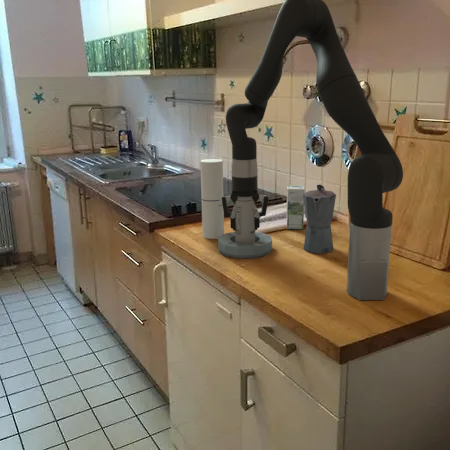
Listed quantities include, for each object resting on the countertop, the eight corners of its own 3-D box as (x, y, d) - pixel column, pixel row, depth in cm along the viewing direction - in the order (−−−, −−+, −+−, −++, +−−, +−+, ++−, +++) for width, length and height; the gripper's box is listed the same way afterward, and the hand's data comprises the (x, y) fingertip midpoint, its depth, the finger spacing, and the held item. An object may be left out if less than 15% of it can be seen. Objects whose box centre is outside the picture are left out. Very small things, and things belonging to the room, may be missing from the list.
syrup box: (302, 225, 176) (303, 184, 172) (303, 230, 170) (304, 188, 166) (286, 225, 177) (287, 184, 173) (286, 229, 171) (287, 188, 167)
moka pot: (299, 256, 145) (300, 188, 140) (304, 240, 160) (305, 178, 154) (332, 258, 143) (335, 189, 137) (334, 241, 157) (337, 179, 152)
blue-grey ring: (273, 258, 144) (273, 246, 143) (217, 259, 144) (217, 247, 143) (269, 241, 159) (269, 230, 158) (218, 241, 159) (218, 231, 158)
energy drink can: (255, 246, 148) (255, 197, 144) (235, 247, 148) (234, 197, 144) (254, 240, 154) (254, 193, 150) (234, 241, 154) (234, 193, 150)
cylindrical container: (199, 234, 168) (196, 160, 161) (218, 231, 171) (217, 158, 164) (207, 240, 162) (205, 163, 155) (227, 236, 164) (226, 161, 157)
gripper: (219, 176, 142) (220, 233, 146) (270, 175, 141) (270, 232, 146) (220, 172, 149) (221, 226, 153) (268, 171, 149) (268, 225, 153)
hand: (245, 229), depth 150 cm, fingers closed on energy drink can, 6 cm apart
